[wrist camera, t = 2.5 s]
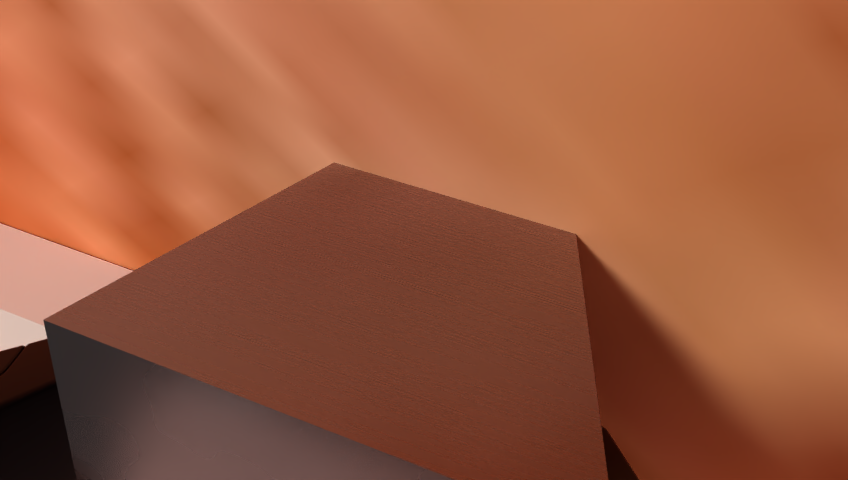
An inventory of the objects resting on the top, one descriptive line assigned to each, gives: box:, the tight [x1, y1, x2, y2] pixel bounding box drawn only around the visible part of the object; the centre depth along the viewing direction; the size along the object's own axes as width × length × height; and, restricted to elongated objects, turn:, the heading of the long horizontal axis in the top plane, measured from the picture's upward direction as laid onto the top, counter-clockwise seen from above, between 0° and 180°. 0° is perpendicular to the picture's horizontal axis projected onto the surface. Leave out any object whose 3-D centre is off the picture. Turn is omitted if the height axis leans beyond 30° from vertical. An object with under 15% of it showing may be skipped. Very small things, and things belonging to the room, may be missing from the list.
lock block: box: [43, 163, 608, 480], centre depth 8 cm, size 5×7×6 cm
